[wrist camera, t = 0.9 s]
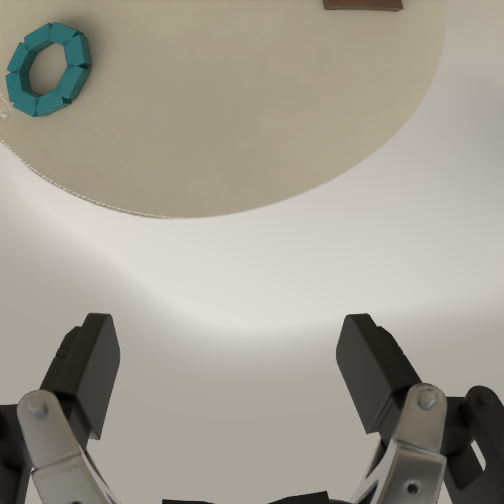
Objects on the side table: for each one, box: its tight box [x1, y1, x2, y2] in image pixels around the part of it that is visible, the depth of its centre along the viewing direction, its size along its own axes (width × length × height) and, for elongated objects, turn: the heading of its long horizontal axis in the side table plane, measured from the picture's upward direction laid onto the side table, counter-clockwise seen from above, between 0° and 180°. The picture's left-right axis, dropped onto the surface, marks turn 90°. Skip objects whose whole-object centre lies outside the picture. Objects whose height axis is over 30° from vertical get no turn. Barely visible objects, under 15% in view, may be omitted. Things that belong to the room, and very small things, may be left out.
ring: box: [6, 22, 92, 117], centre depth 23 cm, size 10×10×2 cm
